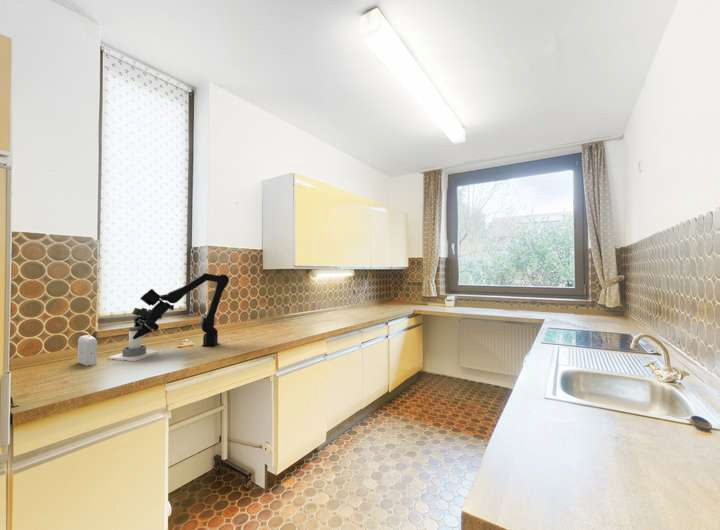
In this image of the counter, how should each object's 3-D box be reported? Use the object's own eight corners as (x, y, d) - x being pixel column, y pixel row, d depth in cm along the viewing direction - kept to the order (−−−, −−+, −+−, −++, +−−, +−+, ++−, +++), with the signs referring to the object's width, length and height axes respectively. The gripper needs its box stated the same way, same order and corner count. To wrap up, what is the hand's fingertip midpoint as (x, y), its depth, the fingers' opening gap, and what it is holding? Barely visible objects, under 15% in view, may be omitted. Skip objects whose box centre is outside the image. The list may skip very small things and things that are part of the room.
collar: (158, 352, 157) (159, 344, 157) (133, 361, 144) (134, 352, 144) (134, 351, 160) (134, 343, 160) (108, 359, 146) (108, 350, 146)
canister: (144, 352, 154) (145, 327, 154) (134, 355, 149) (135, 329, 149) (134, 351, 155) (135, 326, 155) (125, 354, 150) (126, 328, 150)
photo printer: (98, 364, 139) (98, 335, 139) (86, 366, 136) (86, 337, 136) (87, 360, 144) (88, 333, 144) (75, 362, 141) (76, 334, 141)
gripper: (138, 299, 161) (110, 324, 152) (151, 303, 149) (123, 330, 140) (155, 313, 167) (130, 338, 158) (169, 317, 155) (143, 344, 147)
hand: (131, 337), depth 151 cm, fingers open, 6 cm apart
